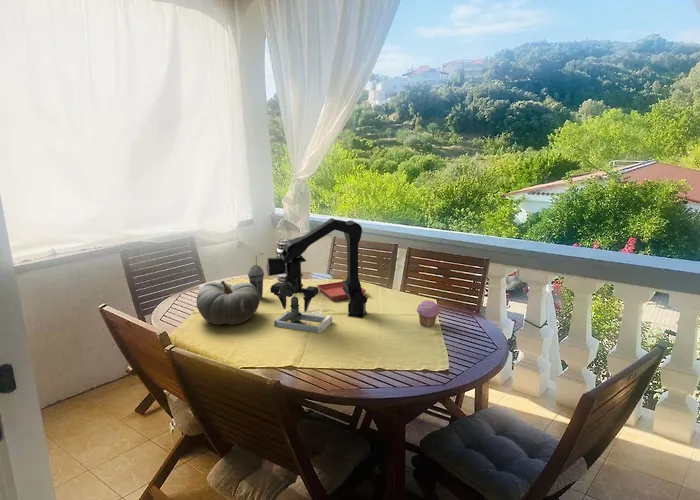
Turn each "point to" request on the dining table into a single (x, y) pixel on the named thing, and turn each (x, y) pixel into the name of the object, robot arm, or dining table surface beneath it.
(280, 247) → the decorative candle
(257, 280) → the beverage cup
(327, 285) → the plant saucer
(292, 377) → the dining table surface
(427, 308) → the cupcake
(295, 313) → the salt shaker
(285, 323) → the frame
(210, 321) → the gourd
